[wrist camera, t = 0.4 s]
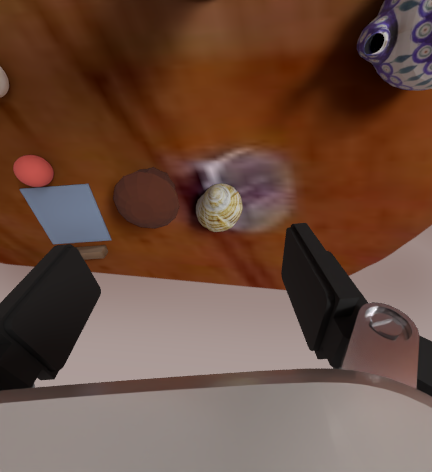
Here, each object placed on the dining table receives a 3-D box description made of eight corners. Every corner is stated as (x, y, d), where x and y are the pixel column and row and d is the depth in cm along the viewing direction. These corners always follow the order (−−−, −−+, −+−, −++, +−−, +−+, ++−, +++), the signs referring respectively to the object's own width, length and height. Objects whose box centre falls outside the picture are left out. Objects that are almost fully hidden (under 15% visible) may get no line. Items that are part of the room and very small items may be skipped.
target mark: (20, 188, 44) (19, 189, 44) (88, 183, 44) (87, 184, 44) (53, 243, 52) (53, 244, 52) (111, 239, 52) (111, 240, 52)
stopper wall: (64, 248, 53) (58, 254, 51) (105, 245, 53) (101, 251, 51) (68, 254, 54) (62, 260, 52) (108, 251, 54) (104, 258, 52)
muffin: (126, 208, 47) (110, 234, 39) (121, 157, 41) (100, 174, 33) (181, 214, 49) (176, 240, 41) (184, 165, 43) (178, 184, 34)
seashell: (201, 232, 51) (192, 238, 41) (194, 190, 50) (183, 187, 40) (244, 225, 49) (246, 230, 40) (238, 182, 48) (238, 177, 38)
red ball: (21, 152, 40) (-3, 161, 36) (51, 150, 40) (30, 158, 36) (37, 181, 43) (17, 192, 39) (65, 179, 43) (48, 190, 39)
